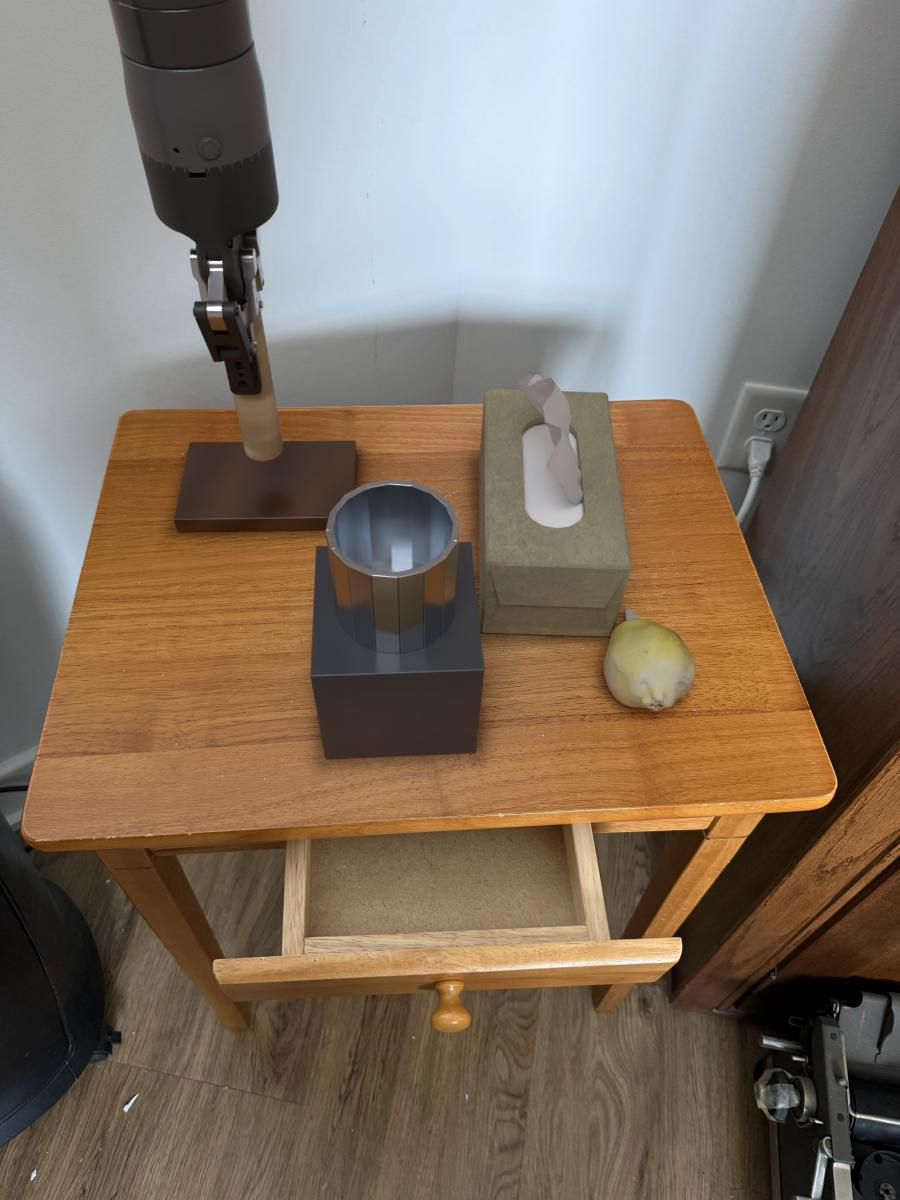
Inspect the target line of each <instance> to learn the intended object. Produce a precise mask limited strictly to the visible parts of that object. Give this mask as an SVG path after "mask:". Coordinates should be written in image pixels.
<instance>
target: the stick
mask: <svg viewBox="0 0 900 1200" xmlns="http://www.w3.org/2000/svg"><path fill="white" fill-rule="evenodd" d="M253 324H254V332H255V339H256V340H257V348H256V349H257V355H258V360H259V366H260V372H261V378H262V391H261V393H260V394H257V395H236V394H234V393H232V396H233V403H234V406H235V411H236V415H237V420H238V425H239V430H240V435H241V440H242V442H243V445H244V449H245V453H246V455H247V456H248V457H249V458H251V459H253V460H256V461H268V460H272V459H274V458H276V457H277V456H279V455H280V454H281V452H282V450H283V442H282V441H283V435H282V430H281V424H280V417H279V412H278V406H277V405H278V404H277V399H276V394H275V387H274V382H273V374H272V369H271V363H270V358H269V351H268V344H267V339H266V333H265V326H264V321H263V315H262V313H261V312H260V311H258V315H257V319H256V321H255V322H253Z"/></svg>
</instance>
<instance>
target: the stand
mask: <svg viewBox="0 0 900 1200" xmlns="http://www.w3.org/2000/svg"><path fill="white" fill-rule="evenodd" d="M473 554H474V553H473V544H472V541H459V545H458V565H457V584H456V602H455V612H454V618H453V620H452V622H451V624H450V625H449V627H448V628H447V630H446V631H445V633H444V634H443V635H442V636H441V637H440V638H438V639H437V640H435V641H434V642H432V643H431V644H429V645H428V646H426V647H425V648H424V647H423V648H422V649H418V650H414V651H410V652H405V653H400V654H398V653H386V652H377V651H374V650H371V649H369V648H367V647H365V646H363V645H360V644H358V643H356V642H355V641H354V640H353V639H352V638H351V637H350V636H349V635H348V634H347V633H346V632H345V631H344V630H343V629H342V628H341V626H340V623H339V620H338V616H337V613H336V609H335V602H334V594H333V586H332V577H331V569H330V561H329V553H328V545H316V546H315V559H314V583H313V585H314V586H313V603H312V605H313V606H312V607H313V608H312V629H311V630H312V631H311V650H310V651H311V653H310V672H309V673H310V675H309V676H310V682H311V689H312V693H313V699H314V704H315V710H316V716H317V721H318V722H317V723H318V726H319V732H320V733H319V734H320V738H321V739H320V740H321V745H322V748H323V749H322V750H323V755H324V759H325V760H341V759H364V758H365V759H366V758H386V757H387V758H388V757H389V758H390V757H391V758H392V757H410V756H411V757H413V756H414V757H415V756H434V755H435V756H437V755H459V754H462V755H463V754H476V753H477V747H478V746H477V745H478V736H479V727H480V726H479V725H480V716H481V707H482V696H483V688H484V687H483V686H484V679H485V677H484V676H485V664H484V663H485V662H484V661H485V660H484V653H483V644H482V632H481V631H480V622H479V603H478V602H479V601H478V594H477V585H476V573H475V563H474V562H475V561H474V555H473Z"/></svg>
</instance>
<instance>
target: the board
mask: <svg viewBox="0 0 900 1200" xmlns="http://www.w3.org/2000/svg"><path fill="white" fill-rule="evenodd" d="M282 442H283V450H282V452H281V454H280V455H279V456H277V457H276V458H274V459H272V460H268V461H256V460H253V459H251V458H249V457H248V456H247V455H246V453H245V449H244V445H243V441H189V443H188V446H187V447H188V448H187V451H186V457H185V462H184V466H183V472H182V477H181V482H180V486H179V491H178V497H177V502H176V506H175V511H174V516H173V522H174V524H175V525H174V526H175V528H176V531H177V533H208V532H209V533H211V532H213V533H214V532H220V533H221V532H279V531H280V532H281V531H283V532H284V531H287V532H289V531H326V527H327V523H328V519H329V514H330V512H331V510H332V509H333V508H334V507H335V505H336V504H337V503H338V502H339V501H340V499H341V498H342V497H343V496H344V495H346V494H347V493H349V492H351V491H353V490H355V489H357V485H356V484H357V458H358V457H357V453H358V451H357V441H356V440H282Z"/></svg>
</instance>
